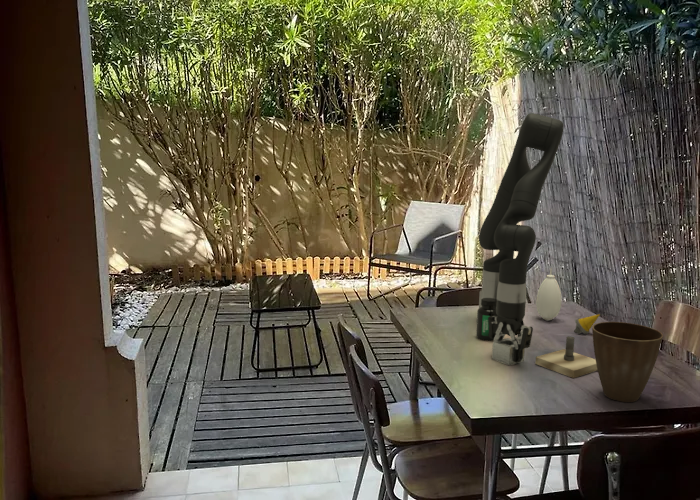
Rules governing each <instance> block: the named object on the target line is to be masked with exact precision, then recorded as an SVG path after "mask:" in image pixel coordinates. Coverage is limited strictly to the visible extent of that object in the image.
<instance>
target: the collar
mask: <svg viewBox="0 0 700 500" xmlns="http://www.w3.org/2000/svg"><path fill="white" fill-rule="evenodd" d="M518 344H519V342H518ZM525 349H526V348H525ZM525 349H523V356H522V360H521V361H520V362H517V363H516V362H514V350H515V346H514V343H513V341H512V340H511V337H506V338H503V339H501V340H497V341H492V349H491V350H492V351H491V352H492V353H491V360H494V361H496V362H498V363H501V364H504V365H506V366H513V365H516V364H519V363H523V362H525V352H526V351H525Z"/></svg>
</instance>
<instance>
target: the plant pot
mask: <svg viewBox="0 0 700 500" xmlns="http://www.w3.org/2000/svg"><path fill="white" fill-rule="evenodd" d="M591 328H592V343H593V352H594V357H595V358H594V359H596V364H597V369H598V371H597V373H598V374H597V375H598V377H599V381H600V384H601V387H602V390H603V394H604V396H605V397H607V398H608V399H611V400H614V401H616V402H621V403H622V402H623V403H633V402H637V401H638V400H639V399H640V398H641V396H642V393H643V392H644V391H645V390H644V389H645V388H646V386H647V384H648V382H649V379H650V378H651V376H652V372H653V370H654V368H655V365H656V362H657V359H658V356H659V352H660V350H661V349H660V348H661V345H662V340H663V338H664V334H663V333H662V332H661V331H659V330H658V329H656V328H653V327H649V326H645V325H642V324H636V323H633V322H632V323H631V322H624V321H623V322H622V321H602V322H597V323H593V325H592V327H591Z"/></svg>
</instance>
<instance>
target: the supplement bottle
mask: <svg viewBox="0 0 700 500" xmlns="http://www.w3.org/2000/svg"><path fill="white" fill-rule="evenodd" d="M481 306H482V307H480V308H479V307H478V309H477V310H476V329H475V330H476V331H475V333H476V334H475V335H476V338H477V339H479V340H481V341H484V342H485V341H487V342H493V341H494V339H493V338H490V337H489V326H488V317H491V316H498V315H497V314H496V307H497V299H494V298H482V299H481ZM498 327H499V325H498ZM493 333H494V329H493Z"/></svg>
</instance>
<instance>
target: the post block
mask: <svg viewBox="0 0 700 500" xmlns="http://www.w3.org/2000/svg"><path fill="white" fill-rule="evenodd" d="M565 338H566V339H565V348H564V349H560V350H556V351H551V352H548V353H545V354H542V355H538V356H535V362H534V363H535V365H537V366H540V367H542V368H545V369H548V370H550V371H552V372H554V373H555V372H557V373H558V374H561V375H564V376H566V377H570V378H572V379H576V378H579V377H581V376H584V375H588V374H591V373H594V372H598V369H597V364H596V359H595V358H592V357H590V356H589V357H588V356H586V355H583V354H580V353H577V352H574V349H575V337H574V336H566V337H565Z"/></svg>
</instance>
